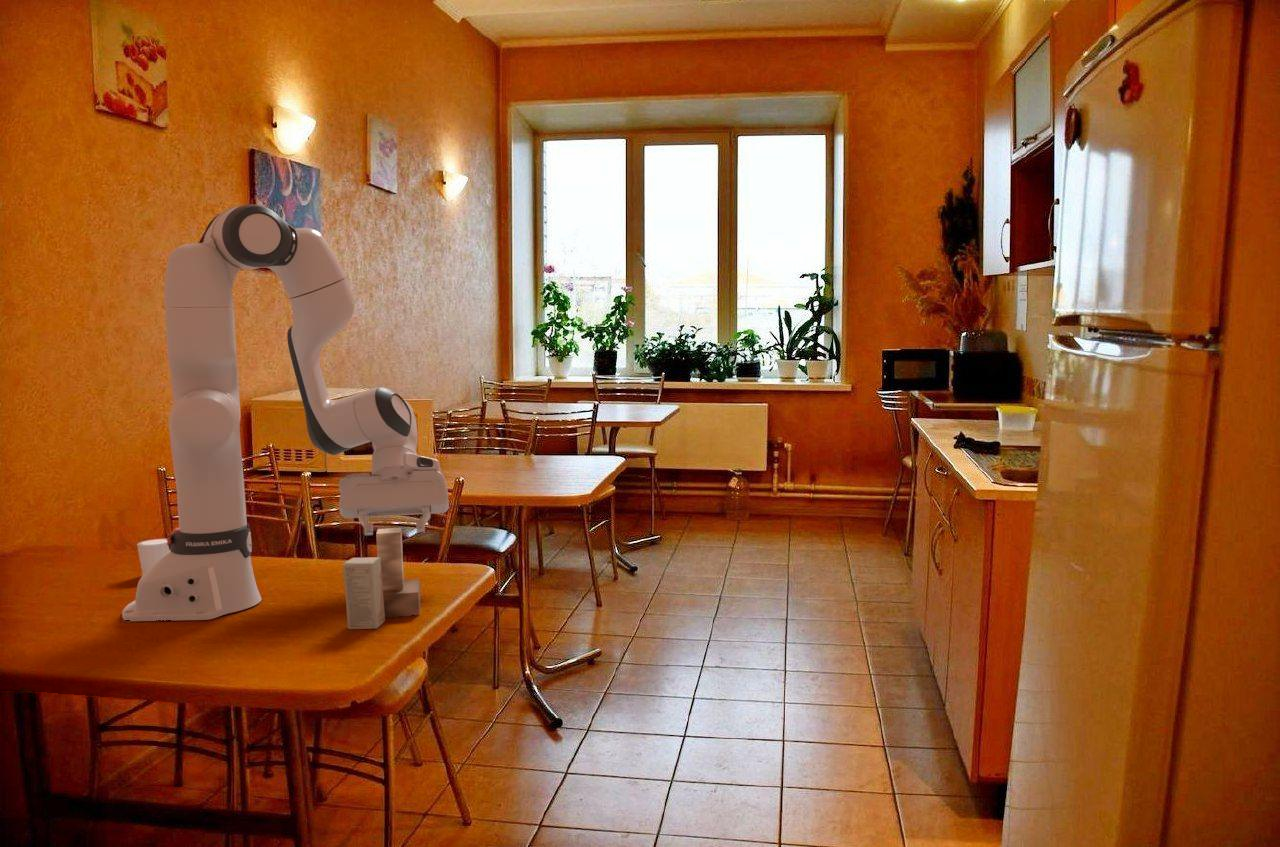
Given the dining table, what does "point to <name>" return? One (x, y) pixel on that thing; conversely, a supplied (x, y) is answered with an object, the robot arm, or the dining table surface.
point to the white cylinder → (152, 552)
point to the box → (364, 593)
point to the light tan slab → (403, 600)
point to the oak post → (391, 558)
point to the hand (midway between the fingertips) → (394, 532)
